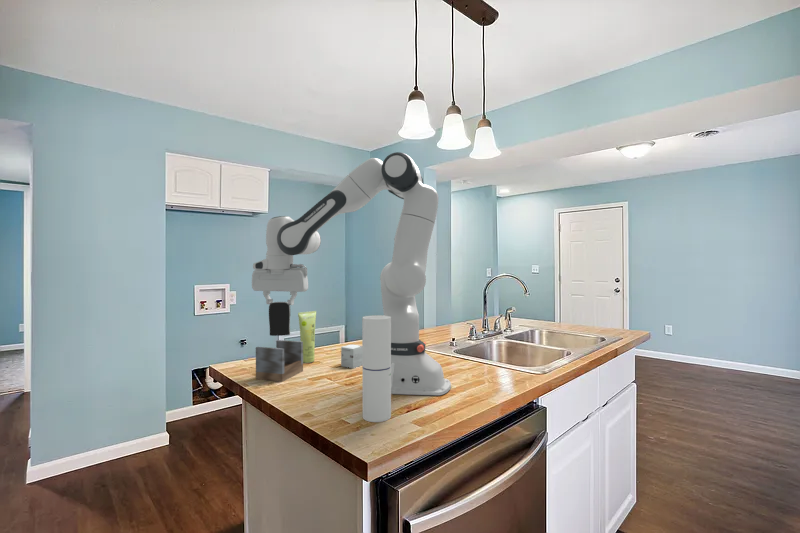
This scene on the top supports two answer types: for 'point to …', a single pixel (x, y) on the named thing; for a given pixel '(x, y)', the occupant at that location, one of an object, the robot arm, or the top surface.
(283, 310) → the battery
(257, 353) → the cradle
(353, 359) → the skincare box
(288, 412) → the top surface
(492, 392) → the top surface
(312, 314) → the tube
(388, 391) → the cylindrical container
